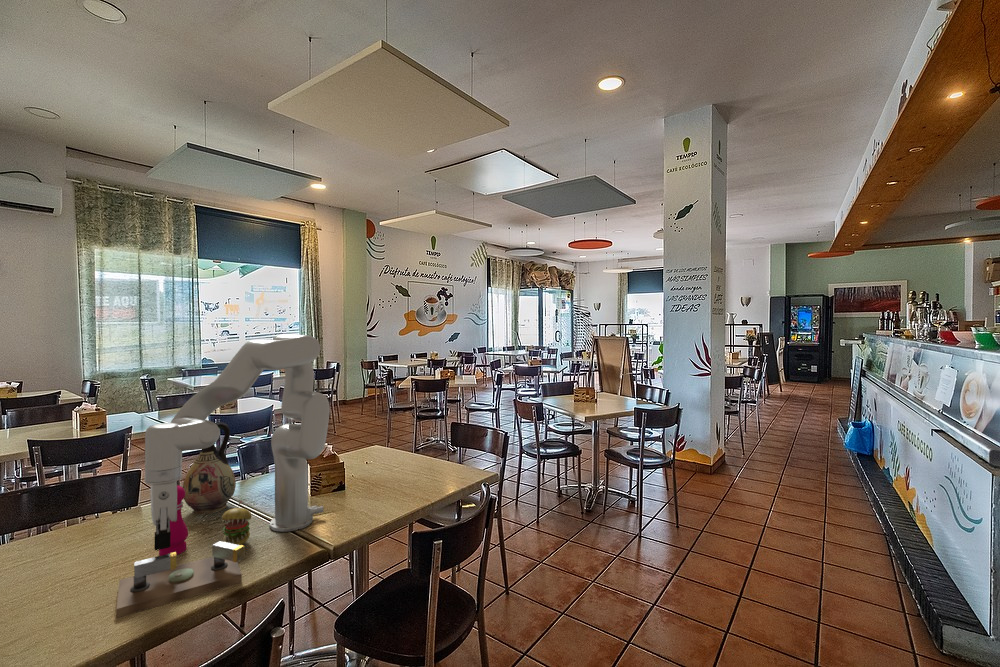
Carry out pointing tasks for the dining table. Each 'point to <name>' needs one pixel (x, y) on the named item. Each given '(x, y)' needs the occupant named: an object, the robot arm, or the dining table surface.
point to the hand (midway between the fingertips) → (162, 547)
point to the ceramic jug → (210, 479)
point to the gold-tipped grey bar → (226, 553)
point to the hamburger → (236, 525)
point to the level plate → (176, 585)
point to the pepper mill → (177, 529)
